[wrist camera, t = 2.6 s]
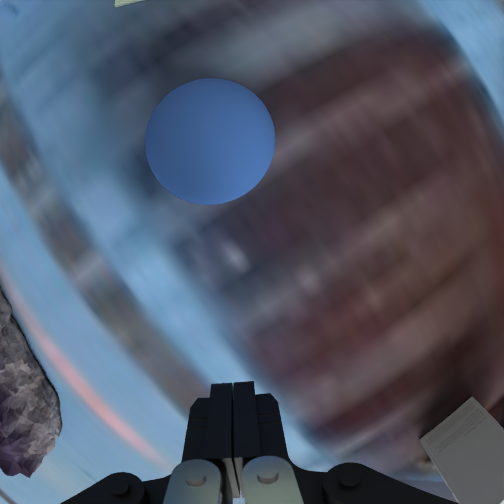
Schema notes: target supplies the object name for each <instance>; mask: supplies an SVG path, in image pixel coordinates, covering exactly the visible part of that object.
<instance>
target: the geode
mask: <svg viewBox="0 0 504 504" xmlns="http://www.w3.org/2000/svg"><path fill="white" fill-rule="evenodd" d="M11 313H12V308H11V306H10V305H9V303H8V302H7V301H6V299H5V298H4V296H3V295H2V293H1V286H0V468H1V469H2V471H3V472H4V474H6V475H8V476H14V475H17V474H19V473H21V474H23V475H25V476H27V477H29V478H30V476H31V475H32V473H33V472H35V471H36V469H37V468H38V467H39V465H40V464H41V463H42V459H43V457H44V456H45V455H46V454H47V453H49V452H50V451H52V450H53V449H54V447H55V439H56V438H58V436H59V435H60V432H61V428H62V420H61V413H60V401H59V397H58V395H57V393H56V392H55V390H54V389H53V388H52V386H51V385H50V383H49V382H48V380H47V379H46V377H45V376H44V374H43V372H42V370H41V368H40V367H39V365H38V363H37V362H36V360H35V359H34V357H33V355H32V353H31V351H30V349H29V348H28V346H27V343H26V340H25V338H24V337H23V335H22V333H21V331H20V329H19V326H18V324H17V323H16V321H15V320H14V319H13V318H12V317H11Z"/></svg>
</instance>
